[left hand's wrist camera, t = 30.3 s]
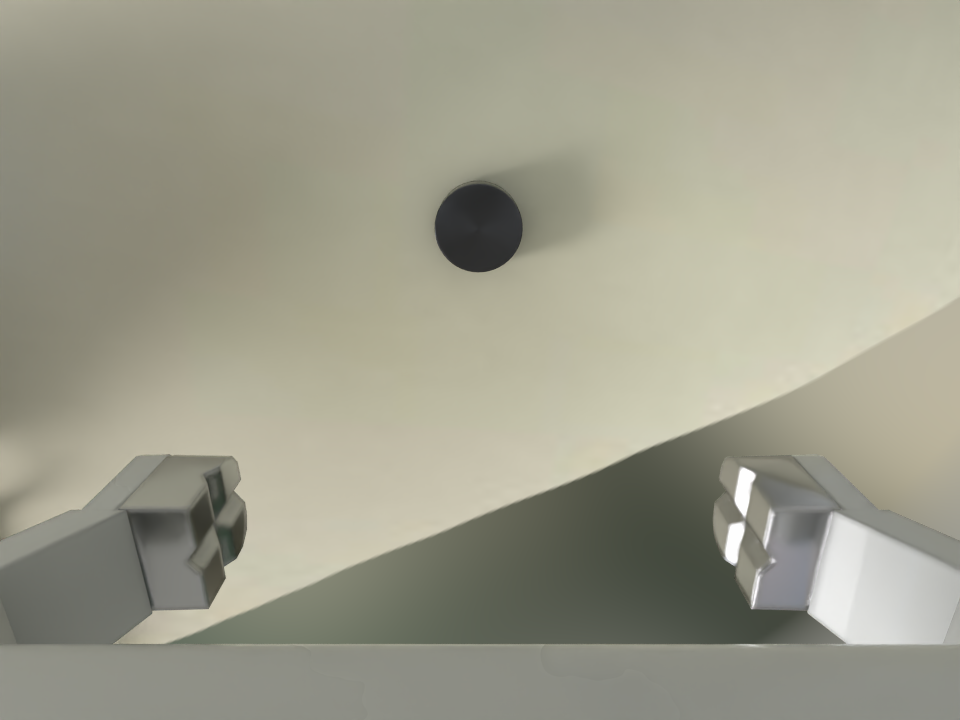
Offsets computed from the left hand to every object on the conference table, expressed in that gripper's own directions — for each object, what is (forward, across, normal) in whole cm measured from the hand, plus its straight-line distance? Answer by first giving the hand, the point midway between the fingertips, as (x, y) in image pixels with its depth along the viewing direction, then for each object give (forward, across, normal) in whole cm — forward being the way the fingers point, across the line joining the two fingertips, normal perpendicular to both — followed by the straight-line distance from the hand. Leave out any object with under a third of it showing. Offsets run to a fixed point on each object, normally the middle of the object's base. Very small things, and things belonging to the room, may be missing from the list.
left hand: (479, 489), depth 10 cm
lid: (+26, 0, 0) cm, 26 cm away
